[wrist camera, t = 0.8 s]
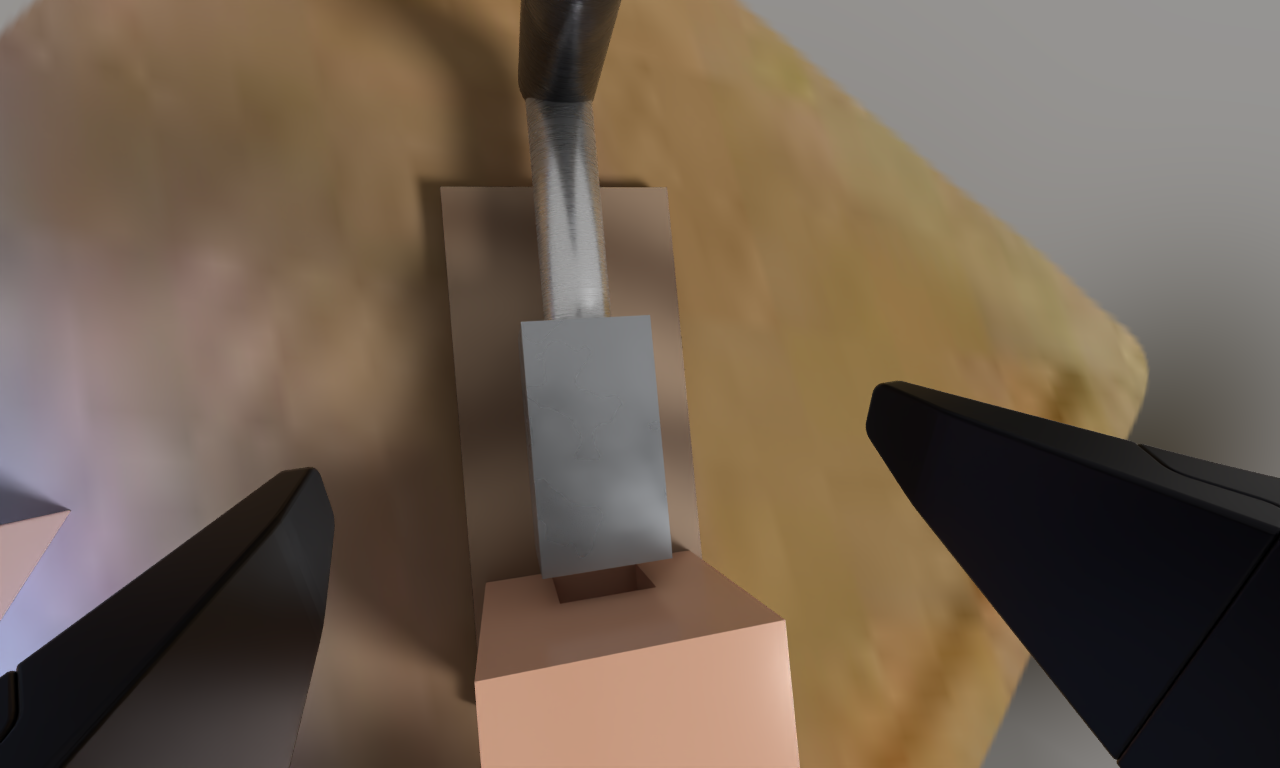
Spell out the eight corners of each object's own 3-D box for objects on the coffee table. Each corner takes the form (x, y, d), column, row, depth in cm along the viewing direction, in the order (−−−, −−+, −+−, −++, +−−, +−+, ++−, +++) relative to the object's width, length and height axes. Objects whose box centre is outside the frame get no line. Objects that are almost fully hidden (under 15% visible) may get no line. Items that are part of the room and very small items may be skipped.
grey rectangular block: (642, 532, 22) (672, 558, 18) (535, 547, 21) (542, 579, 17) (623, 333, 23) (650, 314, 18) (517, 339, 22) (520, 321, 18)
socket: (699, 662, 23) (802, 791, 15) (495, 705, 21) (489, 879, 13) (689, 550, 23) (785, 620, 15) (485, 582, 21) (474, 682, 13)
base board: (704, 661, 24) (712, 672, 23) (483, 708, 21) (482, 722, 20) (660, 196, 24) (667, 187, 23) (442, 196, 22) (440, 186, 21)
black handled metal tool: (624, 486, 21) (771, 573, 10) (551, 496, 21) (611, 602, 9) (587, 68, 22) (681, -336, 10) (514, 64, 21) (525, -373, 9)
